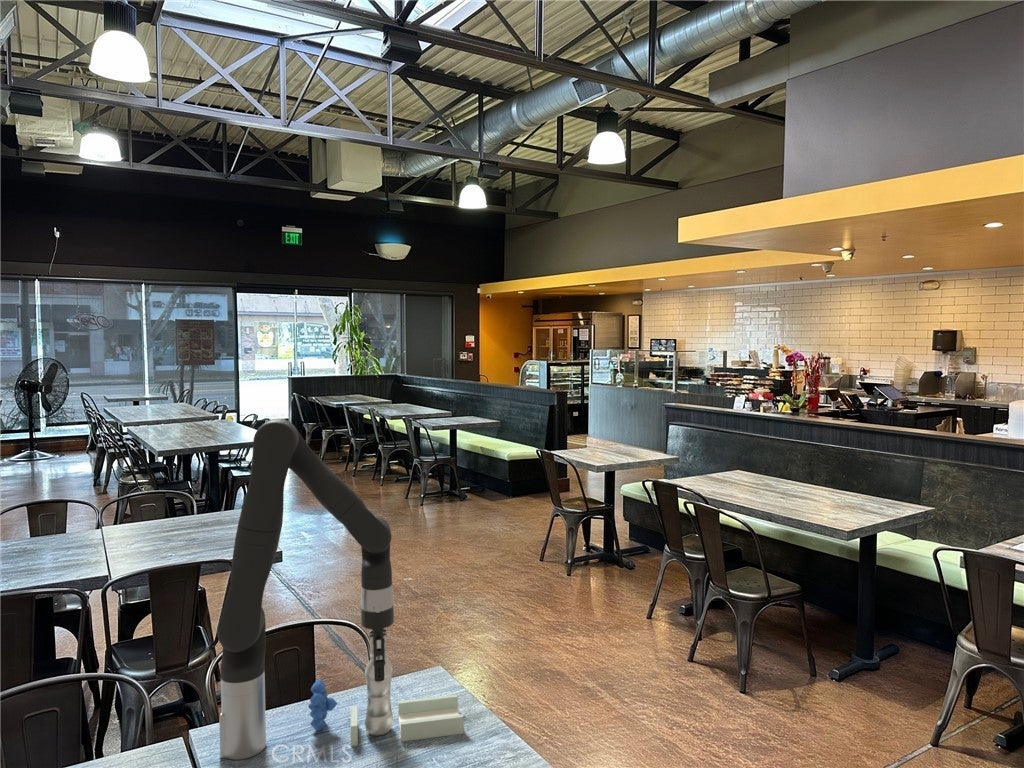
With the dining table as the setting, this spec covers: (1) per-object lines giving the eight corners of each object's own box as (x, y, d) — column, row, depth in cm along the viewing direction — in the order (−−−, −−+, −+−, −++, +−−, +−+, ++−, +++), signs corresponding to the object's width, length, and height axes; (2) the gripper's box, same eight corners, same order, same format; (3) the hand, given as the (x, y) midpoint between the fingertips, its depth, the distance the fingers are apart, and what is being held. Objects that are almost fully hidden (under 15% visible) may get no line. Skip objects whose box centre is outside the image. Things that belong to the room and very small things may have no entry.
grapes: (336, 741, 156) (335, 690, 156) (305, 744, 155) (304, 693, 155) (339, 715, 168) (338, 667, 167) (310, 718, 167) (309, 670, 166)
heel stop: (350, 745, 155) (350, 726, 155) (351, 724, 163) (350, 706, 163) (357, 744, 155) (357, 725, 155) (357, 724, 164) (357, 705, 164)
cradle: (401, 741, 156) (400, 724, 156) (398, 717, 167) (398, 701, 167) (463, 733, 159) (463, 716, 159) (457, 710, 170) (456, 694, 170)
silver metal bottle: (359, 735, 159) (357, 651, 158) (377, 721, 165) (376, 640, 164) (381, 742, 156) (379, 656, 155) (399, 728, 162) (398, 645, 161)
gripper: (360, 595, 165) (362, 660, 166) (361, 617, 152) (362, 688, 152) (392, 592, 167) (393, 657, 168) (395, 613, 153) (396, 684, 154)
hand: (378, 672), depth 160 cm, fingers open, 8 cm apart
